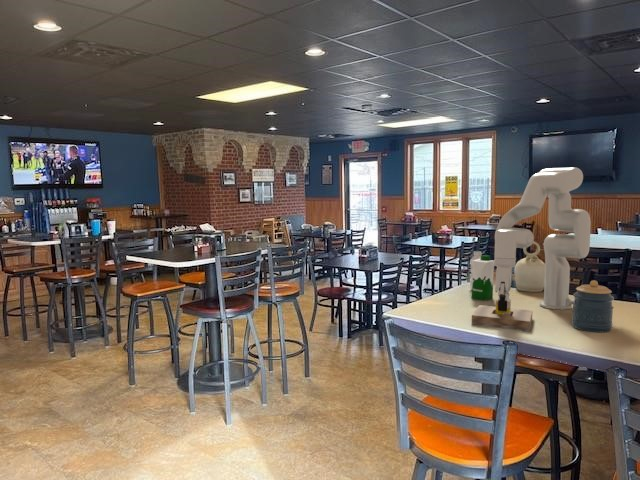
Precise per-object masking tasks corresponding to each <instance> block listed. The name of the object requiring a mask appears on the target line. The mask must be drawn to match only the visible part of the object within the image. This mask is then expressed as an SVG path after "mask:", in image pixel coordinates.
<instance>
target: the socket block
mask: <svg viewBox="0 0 640 480" xmlns="http://www.w3.org/2000/svg"><path fill="white" fill-rule="evenodd" d="M533 312H534V311H533V310H530V309H523V308H522V309H521V308H512V307H511V311H510V316H507V315H498V314H496V306H492V305H491V306H489V305H480V304H479V305H478V306H477V307H476V309H475V310H474V312H472V314H471V325H475V326H476V325H477V326H484V327H491V328H500V329H507V330H508V329H509V330H518V331H524V332H530V330H531V326H532V321H533Z"/></svg>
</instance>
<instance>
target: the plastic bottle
mask: <svg viewBox="0 0 640 480" xmlns="http://www.w3.org/2000/svg"><path fill="white" fill-rule="evenodd" d="M481 255H483V254H482V251H480V250H473V257H471V259H470V261H469V263H470V270H471V271H470V272H471V273H470V280H469V289H470V290H471V291H472V277H473V267H472V260H477V259H481Z"/></svg>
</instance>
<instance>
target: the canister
mask: <svg viewBox="0 0 640 480" xmlns="http://www.w3.org/2000/svg"><path fill="white" fill-rule="evenodd" d="M575 290H576V292H573V294H572V295H573V298H574V299H573V300H574V302H573V304H572V318H571V324H572V325H571V326H572V327H573V328H575V329H577V330H582V331H586V332H591V333H592V332H594V333H608V332H610V331H612V328H613V315H614V314H613V313H614V312H613V311H614V306H613V301H614V300H615V297H614V296H612V295H611V293H613V292H612V290H611V289H609V288H608V286H607V287H606V286H604V285H599V283H598V281H597V280H594V279H593V280H591V281H590V282H589V284H581V285H580V286H577V287H576V288H575Z"/></svg>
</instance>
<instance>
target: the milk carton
mask: <svg viewBox="0 0 640 480" xmlns="http://www.w3.org/2000/svg"><path fill="white" fill-rule="evenodd" d="M472 267H473V277H472V290H471V295H470V296H471V298H470V299H472V300H473V299H475V300H481V301H488V300H492V299H493V297H494V272H495V271H494V270H495V266H494V260H493V259H491V255H488V254H487V255H486V254H482V255H481V259H477V260H472Z"/></svg>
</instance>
